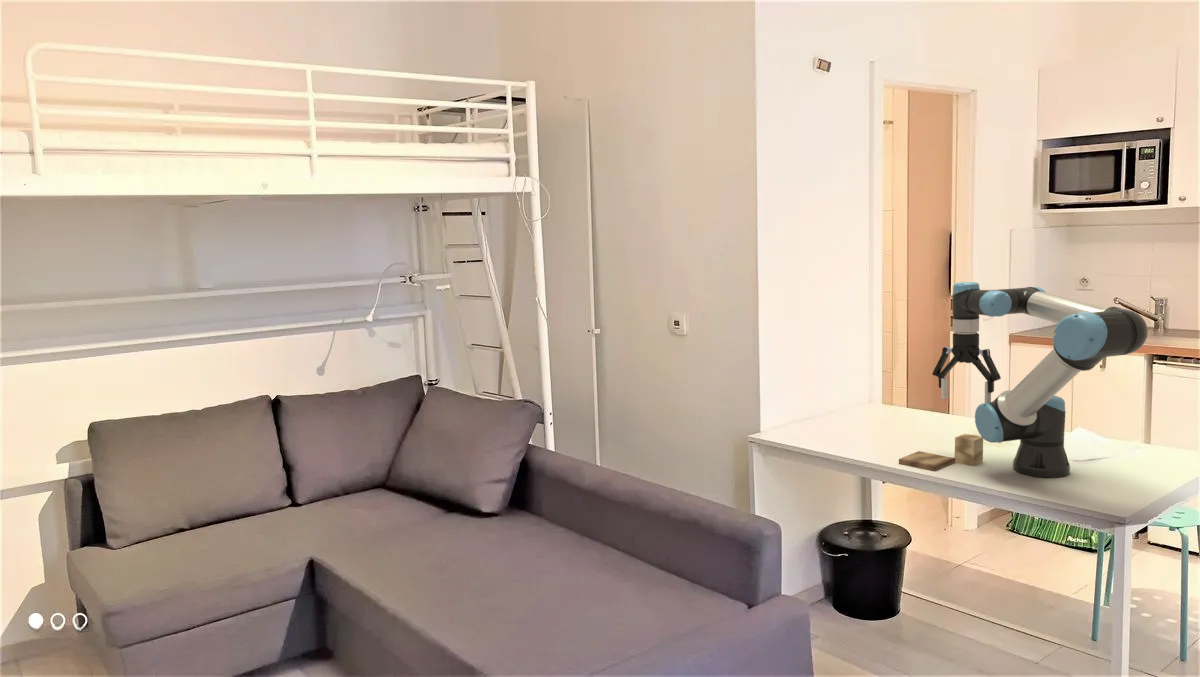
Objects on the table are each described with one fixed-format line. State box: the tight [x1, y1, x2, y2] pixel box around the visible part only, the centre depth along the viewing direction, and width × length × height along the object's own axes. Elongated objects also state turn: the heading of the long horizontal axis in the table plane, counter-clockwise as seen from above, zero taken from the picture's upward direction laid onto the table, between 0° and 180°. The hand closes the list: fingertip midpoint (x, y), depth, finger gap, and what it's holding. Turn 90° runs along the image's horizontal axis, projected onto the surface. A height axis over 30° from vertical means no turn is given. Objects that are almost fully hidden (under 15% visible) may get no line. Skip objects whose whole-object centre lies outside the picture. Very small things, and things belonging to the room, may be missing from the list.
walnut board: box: [898, 450, 955, 472], centre depth 273 cm, size 12×12×2 cm
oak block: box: [954, 433, 984, 467], centre depth 273 cm, size 6×6×8 cm
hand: (965, 400), depth 273 cm, fingers open, 13 cm apart
